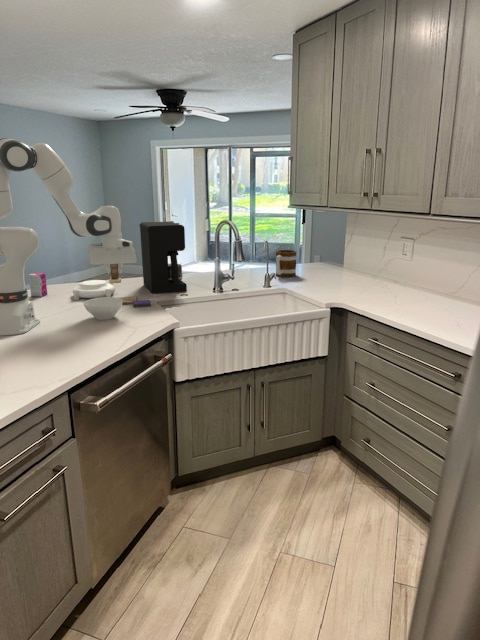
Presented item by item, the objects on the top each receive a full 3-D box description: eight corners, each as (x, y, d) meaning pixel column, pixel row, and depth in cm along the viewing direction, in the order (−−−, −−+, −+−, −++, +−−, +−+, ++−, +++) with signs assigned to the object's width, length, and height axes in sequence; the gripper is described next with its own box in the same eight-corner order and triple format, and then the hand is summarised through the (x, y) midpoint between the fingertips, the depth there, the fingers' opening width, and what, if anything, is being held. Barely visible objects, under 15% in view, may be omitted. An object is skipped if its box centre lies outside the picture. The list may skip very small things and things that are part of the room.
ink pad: (151, 306, 213) (150, 303, 213) (133, 307, 211) (133, 304, 211) (150, 302, 220) (150, 299, 220) (133, 303, 219) (133, 300, 218)
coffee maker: (190, 292, 239) (187, 224, 229) (153, 296, 233) (149, 226, 223) (177, 282, 264) (174, 220, 254) (143, 285, 258) (139, 221, 248)
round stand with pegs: (60, 297, 232) (58, 283, 230) (98, 288, 251) (97, 275, 249) (90, 304, 219) (89, 289, 217) (128, 294, 238) (127, 281, 236)
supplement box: (41, 297, 230) (38, 275, 227) (30, 297, 231) (27, 274, 228) (48, 294, 236) (45, 272, 232) (37, 294, 237) (35, 272, 234)
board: (137, 303, 217) (137, 301, 217) (111, 305, 215) (111, 303, 215) (137, 298, 229) (137, 295, 228) (113, 299, 226) (112, 297, 226)
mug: (280, 272, 293) (280, 249, 288) (300, 274, 286) (300, 250, 282) (266, 278, 276) (267, 253, 272) (287, 280, 270) (288, 254, 266)
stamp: (120, 282, 205) (119, 262, 203) (109, 283, 204) (107, 263, 202) (121, 281, 210) (119, 261, 208) (109, 281, 209) (108, 261, 207)
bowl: (84, 314, 200) (82, 299, 198) (121, 311, 206) (120, 295, 204) (86, 324, 186) (84, 307, 184) (126, 320, 191) (124, 304, 189)
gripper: (87, 244, 197) (89, 276, 201) (135, 242, 202) (137, 274, 205) (88, 243, 203) (91, 273, 207) (135, 241, 208) (137, 272, 211)
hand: (114, 274), depth 206 cm, fingers closed on stamp, 3 cm apart
